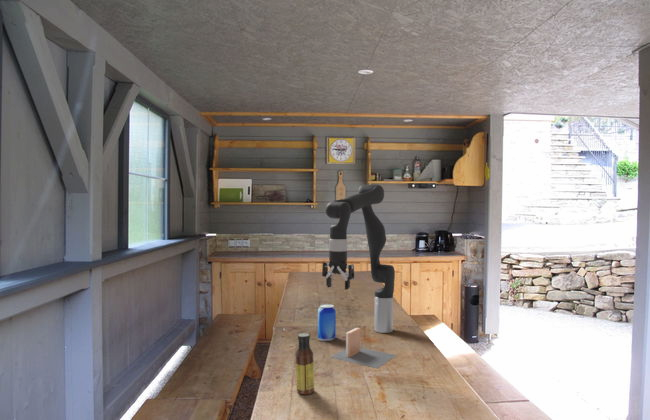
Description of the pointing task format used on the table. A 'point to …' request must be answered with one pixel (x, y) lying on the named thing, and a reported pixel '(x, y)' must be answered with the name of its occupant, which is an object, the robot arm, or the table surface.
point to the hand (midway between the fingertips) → (337, 288)
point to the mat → (366, 357)
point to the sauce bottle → (304, 366)
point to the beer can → (326, 322)
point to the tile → (352, 342)
